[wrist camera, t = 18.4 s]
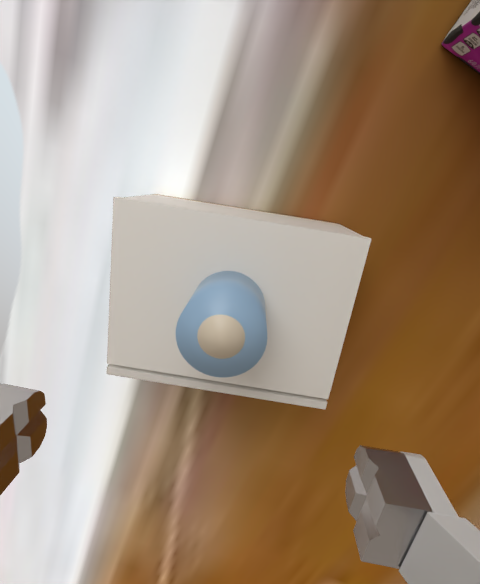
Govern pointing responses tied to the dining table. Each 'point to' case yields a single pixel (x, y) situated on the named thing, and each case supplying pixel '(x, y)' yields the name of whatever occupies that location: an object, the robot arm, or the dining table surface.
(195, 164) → the dining table surface
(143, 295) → the lid
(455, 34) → the candy bar box
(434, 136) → the dining table surface
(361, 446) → the robot arm
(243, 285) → the blue tapered cylinder
